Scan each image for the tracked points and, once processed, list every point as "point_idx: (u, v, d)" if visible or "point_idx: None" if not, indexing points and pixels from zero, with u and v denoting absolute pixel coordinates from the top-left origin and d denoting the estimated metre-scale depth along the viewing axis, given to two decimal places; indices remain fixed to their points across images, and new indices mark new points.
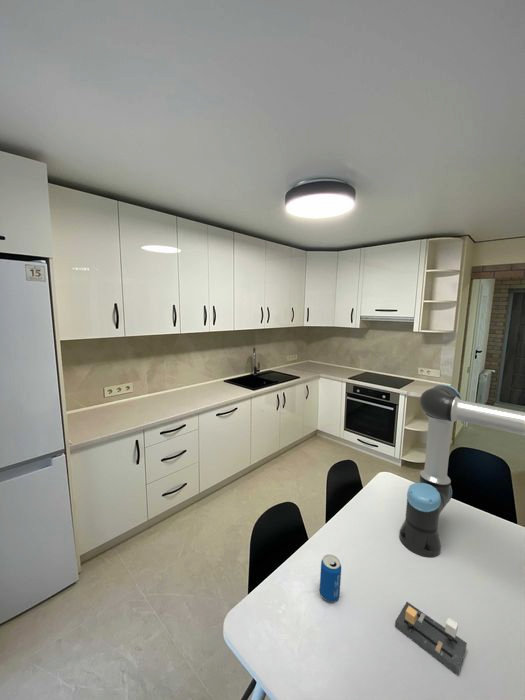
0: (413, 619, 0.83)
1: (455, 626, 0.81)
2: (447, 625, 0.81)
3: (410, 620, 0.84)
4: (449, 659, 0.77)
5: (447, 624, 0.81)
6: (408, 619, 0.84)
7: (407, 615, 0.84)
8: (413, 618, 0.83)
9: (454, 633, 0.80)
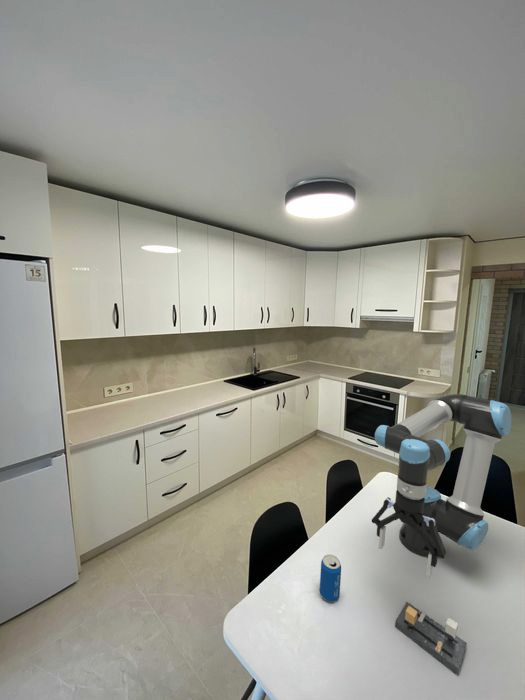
0: (413, 619, 0.83)
1: (455, 626, 0.81)
2: (447, 625, 0.81)
3: (410, 620, 0.84)
4: (449, 659, 0.77)
5: (447, 624, 0.81)
6: (408, 619, 0.84)
7: (407, 615, 0.84)
8: (413, 618, 0.83)
9: (454, 633, 0.80)
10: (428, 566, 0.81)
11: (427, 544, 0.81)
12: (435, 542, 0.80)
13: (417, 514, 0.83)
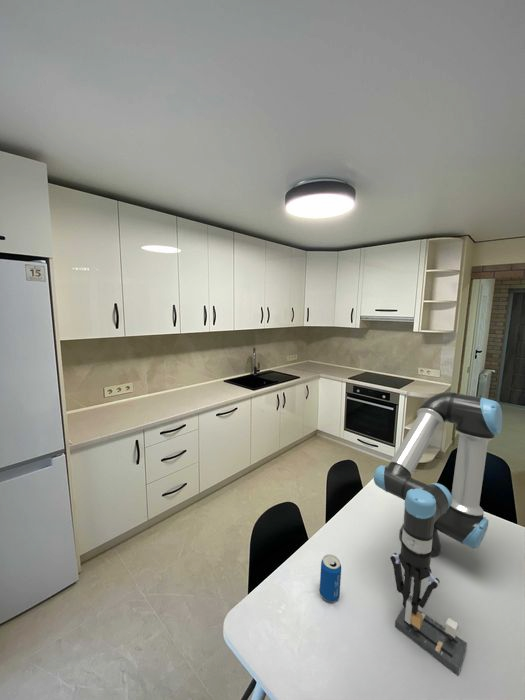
0: (419, 623, 0.82)
1: (455, 626, 0.81)
2: (447, 625, 0.81)
3: (416, 624, 0.82)
4: (449, 659, 0.77)
5: (447, 624, 0.81)
6: (413, 623, 0.83)
7: (412, 619, 0.83)
8: (419, 622, 0.82)
9: (454, 633, 0.80)
10: (409, 613, 0.83)
11: (414, 594, 0.82)
12: (424, 596, 0.80)
13: (426, 570, 0.80)
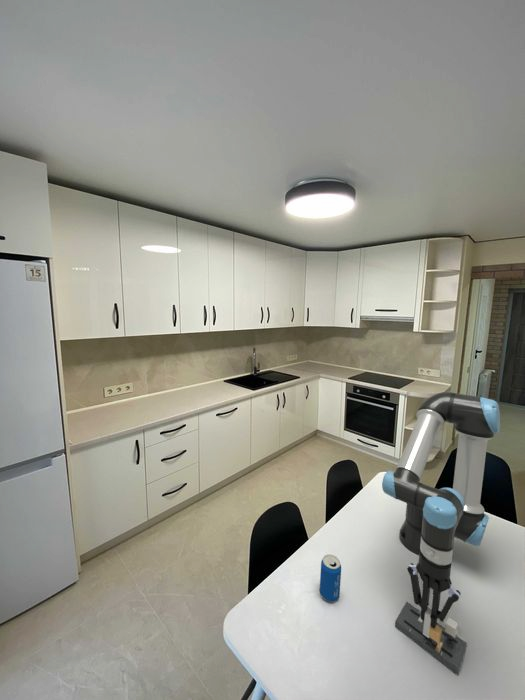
0: (438, 637, 0.78)
1: (455, 626, 0.81)
2: (447, 625, 0.81)
3: (435, 638, 0.79)
4: (449, 659, 0.77)
5: (447, 624, 0.81)
6: (432, 637, 0.79)
7: (431, 633, 0.80)
8: (438, 636, 0.78)
9: (454, 633, 0.80)
10: (427, 626, 0.80)
11: (434, 606, 0.79)
12: (445, 609, 0.77)
13: (446, 582, 0.76)
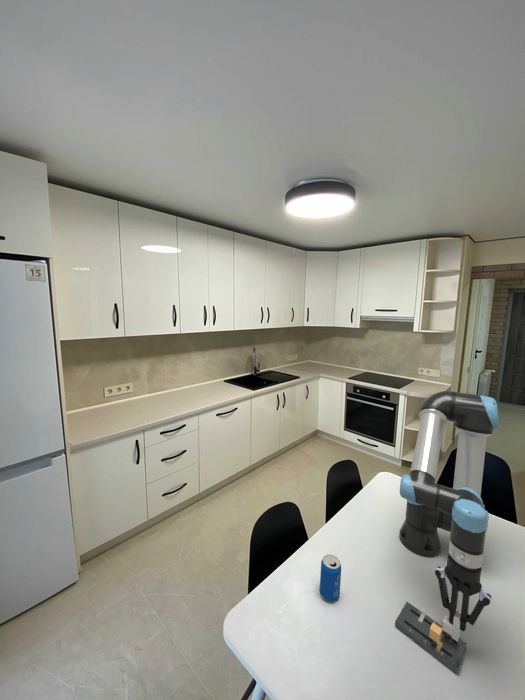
0: (438, 637, 0.78)
1: None
2: (444, 623, 0.82)
3: (435, 638, 0.79)
4: (449, 659, 0.77)
5: (444, 622, 0.82)
6: (433, 637, 0.79)
7: (431, 633, 0.79)
8: (438, 636, 0.78)
9: (451, 631, 0.81)
10: (457, 630, 0.79)
11: (463, 610, 0.78)
12: (475, 612, 0.76)
13: (477, 585, 0.76)
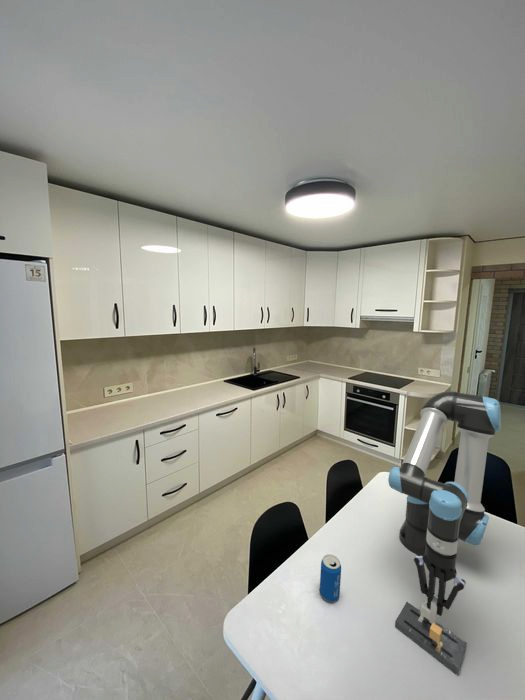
0: (438, 637, 0.78)
1: None
2: (422, 608, 0.86)
3: (435, 638, 0.79)
4: (449, 659, 0.77)
5: (423, 608, 0.86)
6: (433, 637, 0.79)
7: (431, 633, 0.79)
8: (438, 636, 0.78)
9: (429, 615, 0.85)
10: (434, 615, 0.83)
11: (440, 595, 0.82)
12: (450, 597, 0.80)
13: (452, 571, 0.80)
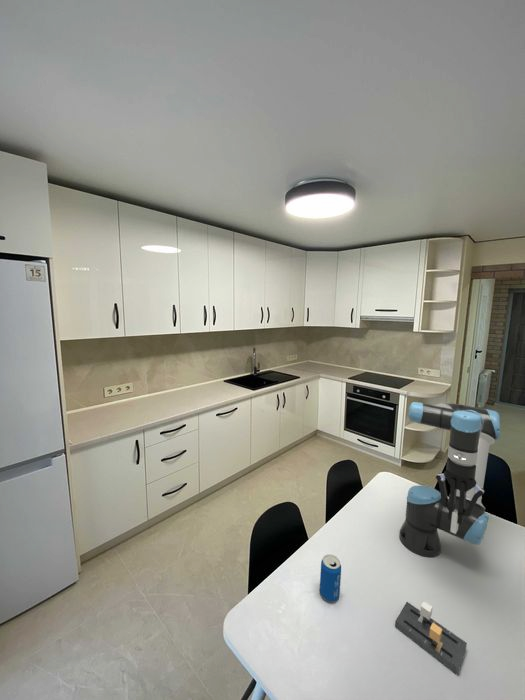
0: (438, 637, 0.78)
1: (429, 609, 0.85)
2: (422, 608, 0.86)
3: (435, 638, 0.79)
4: (449, 659, 0.77)
5: (422, 607, 0.86)
6: (433, 637, 0.79)
7: (431, 633, 0.79)
8: (438, 636, 0.78)
9: (428, 615, 0.85)
10: (455, 524, 0.92)
11: (460, 505, 0.90)
12: (470, 504, 0.88)
13: (472, 481, 0.88)
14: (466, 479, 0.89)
